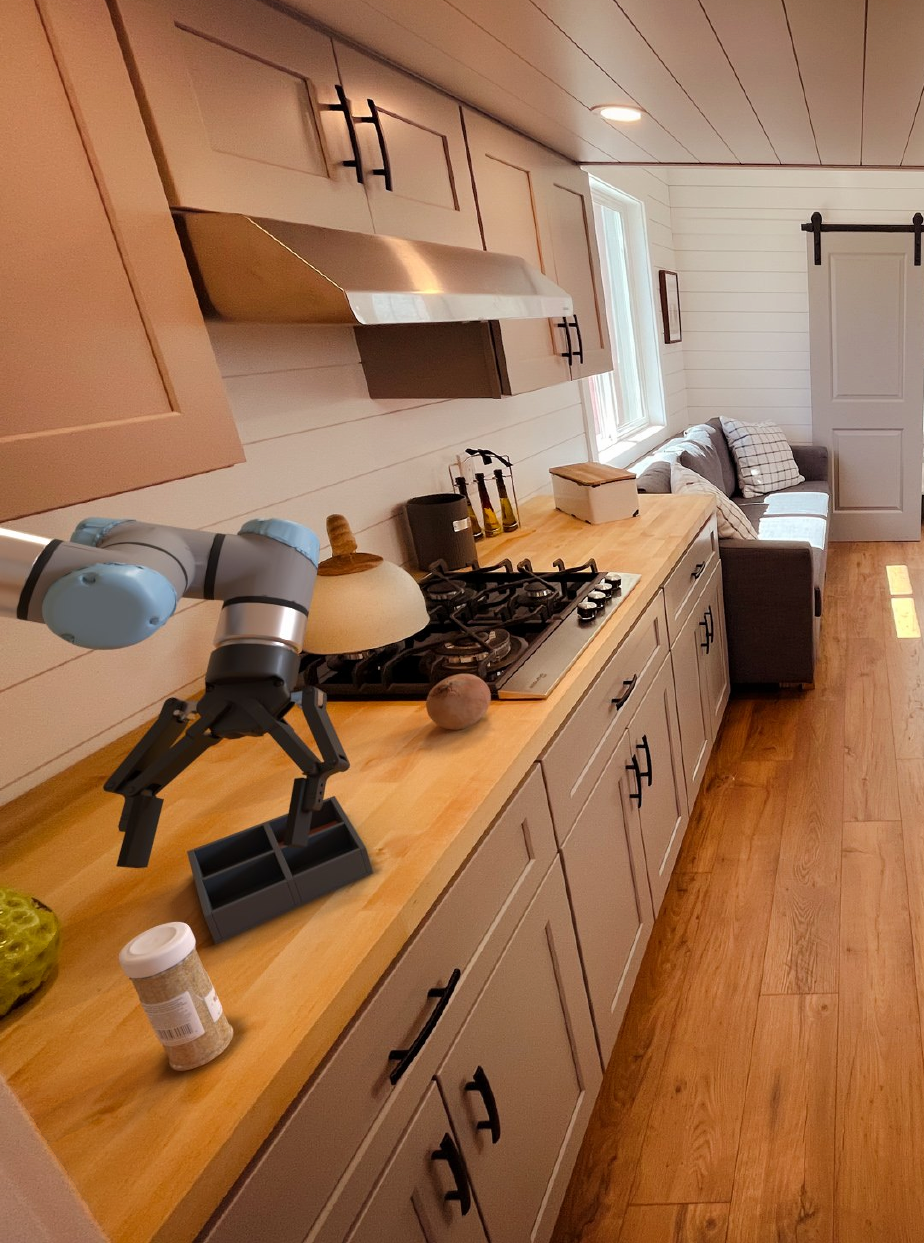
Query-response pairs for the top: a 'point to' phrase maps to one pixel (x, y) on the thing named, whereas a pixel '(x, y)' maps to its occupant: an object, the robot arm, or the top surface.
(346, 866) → the grid
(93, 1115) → the top surface
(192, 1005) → the spice jar
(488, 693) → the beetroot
